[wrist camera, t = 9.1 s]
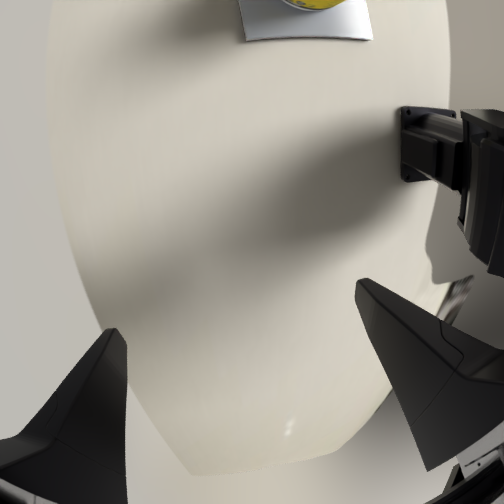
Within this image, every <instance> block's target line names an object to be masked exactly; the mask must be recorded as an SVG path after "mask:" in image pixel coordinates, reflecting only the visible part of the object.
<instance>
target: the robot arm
mask: <svg viewBox="0 0 504 504" xmlns="http://www.w3.org/2000/svg"><path fill="white" fill-rule="evenodd" d="M407 110H408V114H407V113H406V112H407ZM451 114H452V116H451ZM461 118H462V121H461V120H458V119H456V113H455V111H453V110H449V109H440V108H429V107H416V106H404V107H402V109H401V123H402V133H401V138H402V144H401V179H402V180H403V181H405V182H407V183H408V182H416V181H425V180H434V181H435V182H437V183H439V184H440V185H442V186H444V187H446V188H447V189H449V190H451V191H452V192H454V193H455V194H457V195H458V196H460V197H461V204H460V213H459V217H458V221H457V224H458V226H459V227H460V229H461V231H462V232H463V234H464V236H465V238H466V240H467V242H468V244H469V245H470V247H469V250H470V251H471V253H472V254H473V255H474V256H475V257H476V258H477V259H479V260H480V261H481V262H483V263H484V264H485V265H487V266H488V268H487V272H488V273H490V274H493V275H497V276H501V277H503V278H504V112H503V111H499V110H494V109H471V110H461ZM407 174H408V176H407V178H406V175H407ZM355 302H356V305H357V308H358V310H359V313H360V316H361V318H362V321H363V324H364V326H365V329H366V332H367V334H368V337H369V339H370V341H371V343H372V345H373V347H374V349H375V351H376V353H377V355H378V357H379V360H380V362H381V364H382V366H383V368H384V370H385V372H386V374H387V376H388V379H389V381H390V383H391V385H392V387H393V390H394V392H395V394H396V396H397V398H398V401H399V403H400V405H401V408H402V410H403V412H404V415H405V417H406V419H407V422H408V424H409V426H410V429H411V432H412V434H413V437H414V439H415V441H416V444H417V447H418V449H419V452H420V454H421V457H422V460H423V462H424V465H425V468H426V470H427V472H428V471H430V470H432V469H434V468H436V467H437V466H439V465H441V464H442V463H444V462H446V461H448V460H449V459H451V458H453V457H454V456H456V457H457V459H458V462H459V463H458V464H457V465H455V466H454V467H453V469H452V472H451V474H450V477H449V479H448V482H447V484H446V486H445V488H444V491H443V493H442V494H440V495H439V496H437V497H436V498H434V499H432V500H430V501H428V502H427V503H425V504H504V350H502V349H498V348H495V347H492V346H491V345H488V344H486V343H484V342H482V341H480V340H478V339H476V338H474V337H472V336H470V335H468V334H466V333H464V332H462V331H460V330H458V329H456V328H455V327H453V326H451V325H449V324H448V323H446V322H444V321H443V320H440V319H439V318H437V317H436V316H434V315H432V314H431V313H429V312H427V311H425V310H424V309H422V308H420V307H419V306H417V305H415V304H413V303H412V302H410V301H408V300H406V299H405V298H403V297H401V296H399V295H398V294H396V293H394V292H392V291H391V290H389V289H387V288H385V287H383V286H382V285H380V284H378V283H376V282H375V281H373V280H371V279H369V278H363V279H359V280H357V282H356V289H355ZM126 397H127V344H126V341H125V340H124V338H123V337H122V335H121V334H120V332H119V331H118V329H116V328H108V329H106V330H105V331H104V332H103V333H102V334H101V335H100V337H99V338H98V339H97V340H96V341H95V342H94V344H93V345H92V346H91V347H90V348H89V350H88V351H87V352H86V353H85V354H84V356H83V357H82V358H81V359H80V360H79V362H78V363H77V364H76V366H75V367H74V368H73V369H72V370H71V371H70V373H69V374H68V375H67V376H66V378H65V379H64V380H63V381H62V383H61V384H60V385H59V387H58V388H57V389H56V391H55V392H54V393H53V394H52V396H51V397H50V398H49V399H48V401H47V402H46V403H45V404H44V406H43V407H42V408H41V409H40V410H39V411H38V413H37V414H36V415H35V416H34V417H33V418H32V419H31V421H30V422H29V423H28V424H27V425H26V426H25V428H24V429H23V430H22V431H21V432H20V433H19V434H17V435H16V436H14V437H11V438H7V439H2V440H0V504H128V500H127V486H126V466H125V421H126V419H125V418H126Z"/></svg>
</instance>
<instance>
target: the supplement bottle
mask: <svg viewBox="0 0 504 504" xmlns="http://www.w3.org/2000/svg"><path fill="white" fill-rule="evenodd" d="M282 1H283V2H285V3H287V4H288V5H290V6H293V7H295V8H298V9H301V10H306V11H322V10H326V9H330V8H332V7H334V6H336V5H338V4H340V3H342V2H344V1H346V0H282Z"/></svg>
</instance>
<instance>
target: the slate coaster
mask: <svg viewBox="0 0 504 504" xmlns="http://www.w3.org/2000/svg"><path fill="white" fill-rule="evenodd" d="M238 1H239V6H240V11H241V17H242V22H243V27H244V32H245V38H246V41H251V40H261V39H273V38H292V37H330V38H349V39H361V40H373V36H372V30H371V25H370V19H369V15H368V10H367V5H366V1H365V0H346V1H344V2H342V3H340V4H338V5H336V6H334V7H332V8H330V9H326V10H322V11H306V10H301V9H298V8H295V7H293V6H290V5H288V4H287V3H285V2H283V1H282V0H238Z"/></svg>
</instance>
